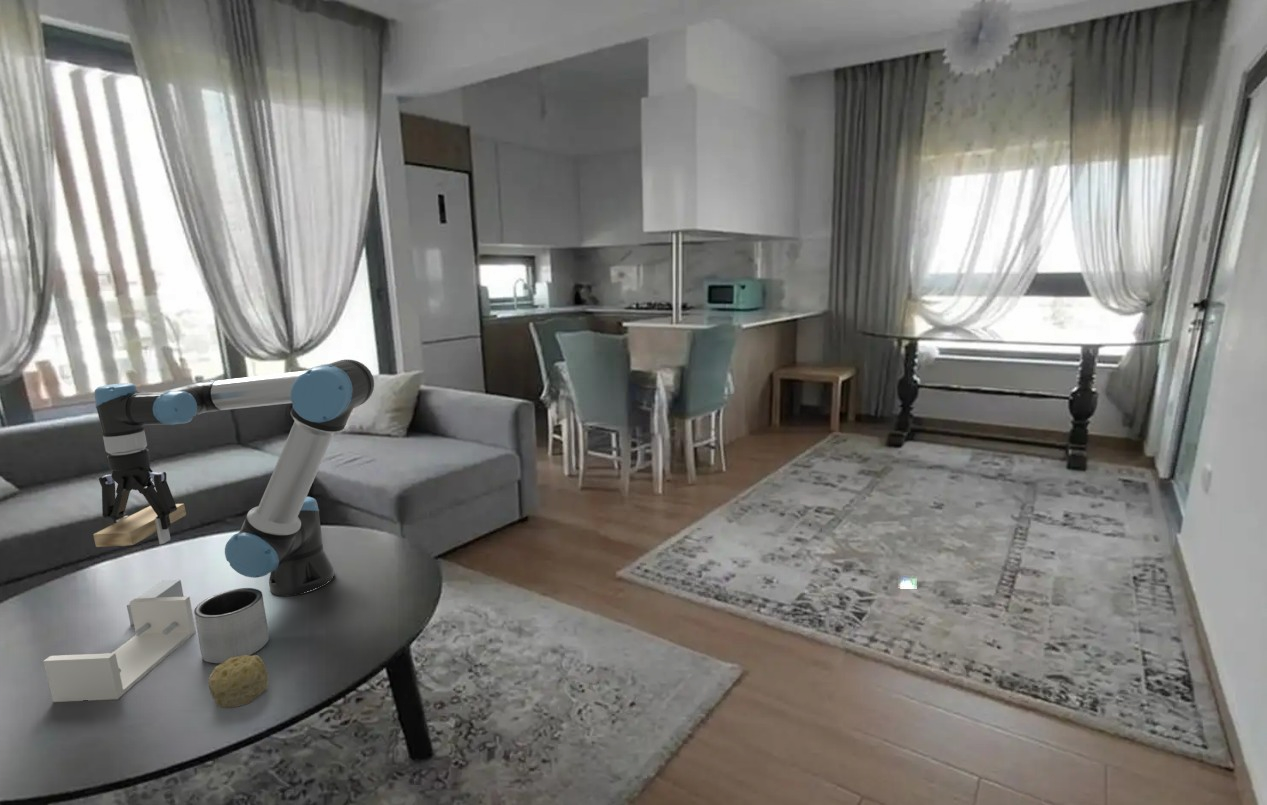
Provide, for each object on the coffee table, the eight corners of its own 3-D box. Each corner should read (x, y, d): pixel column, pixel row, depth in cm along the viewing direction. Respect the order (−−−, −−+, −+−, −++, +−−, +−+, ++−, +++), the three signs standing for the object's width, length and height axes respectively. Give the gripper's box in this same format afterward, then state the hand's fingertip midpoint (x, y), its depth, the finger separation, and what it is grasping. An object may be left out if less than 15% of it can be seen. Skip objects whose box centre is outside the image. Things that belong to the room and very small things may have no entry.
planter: (197, 673, 127) (188, 623, 125) (206, 642, 138) (198, 596, 136) (268, 655, 133) (261, 607, 130) (271, 626, 144) (264, 582, 141)
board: (186, 514, 157) (184, 503, 156) (132, 545, 139) (130, 532, 138) (153, 516, 156) (151, 505, 156) (96, 546, 139) (93, 534, 138)
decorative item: (251, 695, 125) (213, 663, 123) (288, 666, 125) (250, 633, 123) (226, 729, 116) (184, 695, 114) (265, 698, 116) (224, 663, 113)
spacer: (183, 597, 158) (180, 579, 157) (149, 623, 146) (146, 604, 145) (166, 598, 158) (162, 580, 157) (130, 624, 146) (126, 605, 145)
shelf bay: (195, 631, 142) (189, 596, 141) (117, 699, 120) (108, 657, 118) (141, 633, 142) (134, 598, 140) (53, 702, 119) (43, 660, 117)
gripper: (184, 444, 148) (201, 534, 152) (94, 448, 147) (113, 538, 152) (162, 453, 140) (180, 547, 145) (67, 457, 140) (88, 551, 144)
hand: (146, 542), depth 148 cm, fingers closed on board, 8 cm apart
